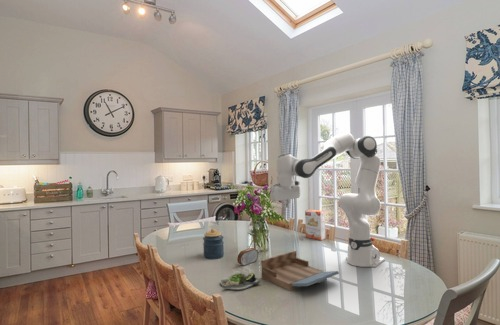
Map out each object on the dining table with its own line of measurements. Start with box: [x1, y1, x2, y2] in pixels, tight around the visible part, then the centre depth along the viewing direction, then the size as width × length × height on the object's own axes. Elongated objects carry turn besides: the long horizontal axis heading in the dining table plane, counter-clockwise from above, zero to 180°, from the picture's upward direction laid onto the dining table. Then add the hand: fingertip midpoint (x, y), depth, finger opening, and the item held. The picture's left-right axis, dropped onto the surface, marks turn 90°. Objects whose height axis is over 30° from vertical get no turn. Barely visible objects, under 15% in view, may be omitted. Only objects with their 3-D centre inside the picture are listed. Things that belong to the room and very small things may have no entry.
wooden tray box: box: [260, 250, 324, 291], centre depth 158 cm, size 24×20×9 cm
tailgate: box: [291, 270, 340, 287], centre depth 146 cm, size 22×2×10 cm
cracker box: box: [304, 208, 326, 241], centre depth 233 cm, size 14×6×21 cm, turn 43°
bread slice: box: [237, 247, 259, 267], centre depth 182 cm, size 15×3×8 cm, turn 134°
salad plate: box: [219, 272, 261, 291], centre depth 152 cm, size 19×18×5 cm
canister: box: [202, 228, 225, 260], centre depth 197 cm, size 13×13×18 cm
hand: (285, 207), depth 175 cm, fingers closed
